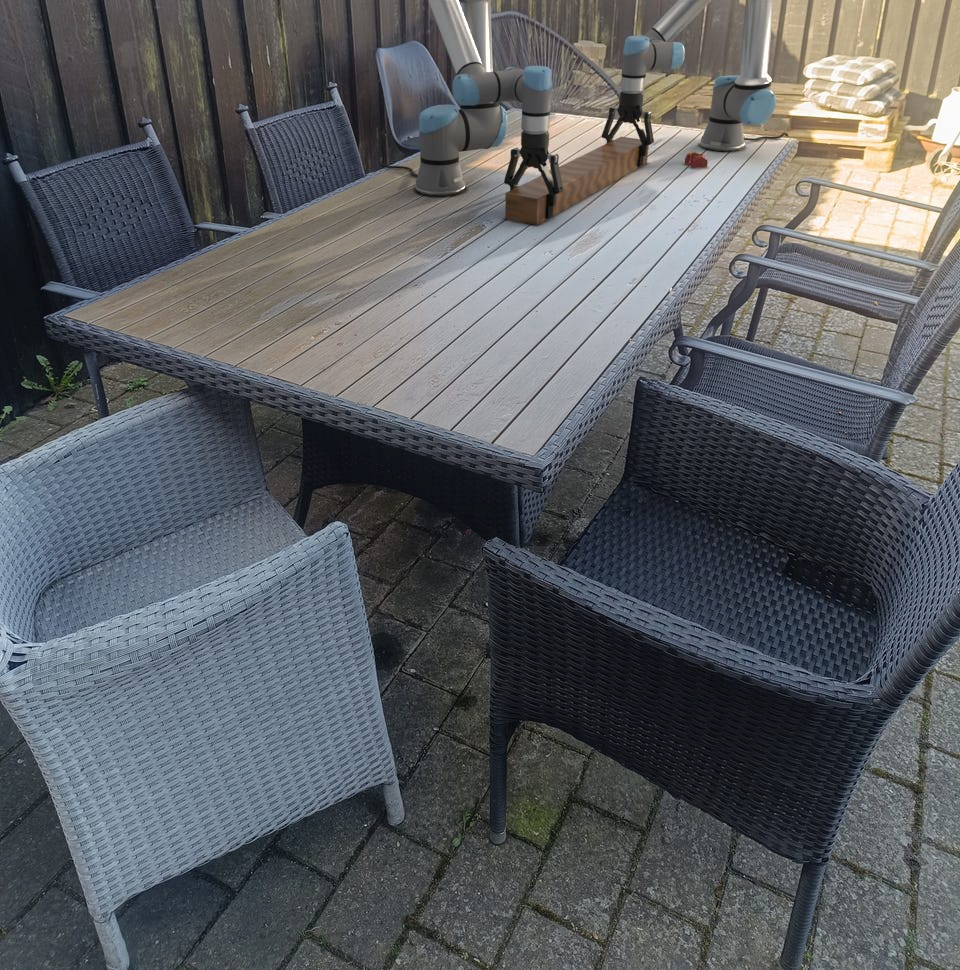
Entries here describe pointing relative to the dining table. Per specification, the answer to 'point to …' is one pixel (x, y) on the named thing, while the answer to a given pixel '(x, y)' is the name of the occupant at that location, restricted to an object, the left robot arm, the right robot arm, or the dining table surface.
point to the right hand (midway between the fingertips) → (624, 163)
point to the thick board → (574, 180)
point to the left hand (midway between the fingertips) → (532, 213)
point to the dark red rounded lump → (696, 160)
